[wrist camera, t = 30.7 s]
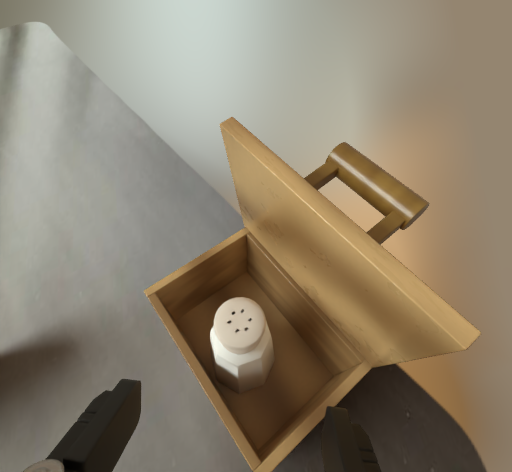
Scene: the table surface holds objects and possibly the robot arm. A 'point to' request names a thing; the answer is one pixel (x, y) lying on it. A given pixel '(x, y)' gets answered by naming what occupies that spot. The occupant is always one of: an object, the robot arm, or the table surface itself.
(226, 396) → the chest
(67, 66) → the table surface
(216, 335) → the pepper shaker
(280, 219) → the lid
